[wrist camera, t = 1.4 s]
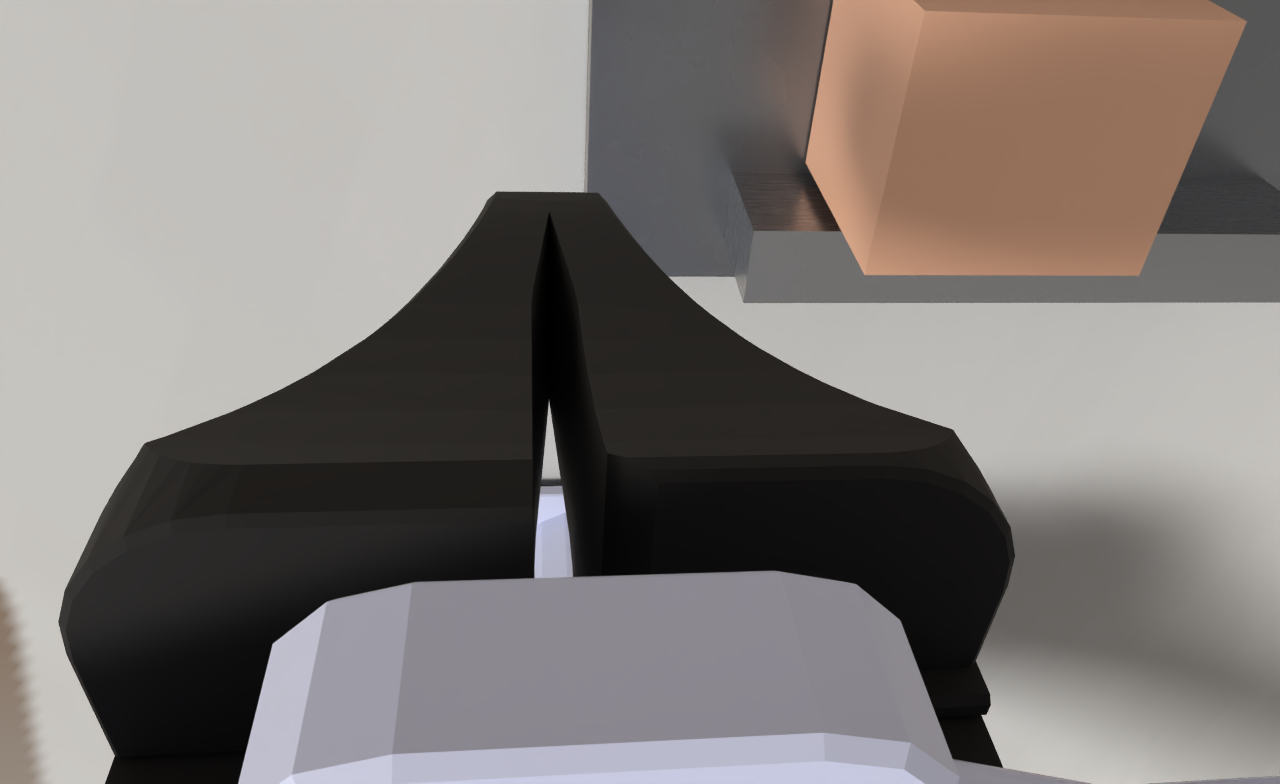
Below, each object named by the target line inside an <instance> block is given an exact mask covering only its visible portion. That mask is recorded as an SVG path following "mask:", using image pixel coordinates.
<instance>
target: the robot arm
mask: <svg viewBox="0 0 1280 784" xmlns="http://www.w3.org/2000/svg"><path fill="white" fill-rule="evenodd" d="M549 401H550V408H551V415H552V422H553V429H554V436H555V443H556V450H557V456H558V463H559V470H560V476H561V483H562V486H541V478H542V468H543V457H544V447H545V436H546V425H547V415H548V404H549ZM1014 558H1015V553H1014V547H1013V540H1012V534H1011V527H1010V526H1009V524H1008V522H1007V520H1006V518H1005V516H1004V514H1003V512H1002V511H1001V509H1000V507H999V505H998V503H997V501H996V499H995V497H994V495H993V493H992V491H991V489H990V488H989V486H988V484H987V482H986V480H985V479H984V477H983V475H982V473H981V471H980V470H979V468H978V466H977V465H976V463H975V462H974V460H973V459H972V457H971V456H970V455H969V453H968V452H967V450H966V449H965V447H964V446H963V444H962V443H961V441H960V440H959V438H958V437H957V435H956V433H955V432H954V430H952V429H949V428H946V427H943V426H940V425H937V424H934V423H931V422H928V421H925V420H922V419H919V418H916V417H912V416H909V415H906V414H903V413H900V412H897V411H894V410H891V409H888V408H885V407H882V406H879V405H876V404H873V403H871V402H868V401H865V400H863V399H861V398H858V397H856V396H854V395H851V394H849V393H847V392H844V391H842V390H840V389H837V388H835V387H833V386H830V385H828V384H826V383H823V382H821V381H819V380H817V379H815V378H813V377H811V376H809V375H807V374H805V373H803V372H801V371H799V370H797V369H795V368H793V367H792V366H790V365H788V364H786V363H785V362H783V361H781V360H779V359H777V358H776V357H774V356H772V355H770V354H769V353H767V352H765V351H763V350H762V349H760V348H758V347H757V346H755V345H754V344H752V343H750V342H749V341H747V340H746V339H744V338H743V337H741V336H740V335H738V334H737V333H736V332H734V331H733V330H731V329H730V328H729V327H727V326H726V325H725V324H723V323H722V322H720V321H719V320H718V319H716V318H715V317H714V316H712V315H711V314H710V313H708V312H707V311H706V310H705V309H703V308H702V307H701V306H700V305H698V304H697V303H696V302H695V301H694V300H692V299H691V298H690V297H689V296H688V295H687V294H686V293H685V292H684V291H683V290H682V289H681V288H679V287H678V286H677V285H676V284H675V283H674V282H673V281H672V280H671V279H670V278H669V277H668V276H667V275H666V274H665V273H664V272H663V271H662V270H661V268H660V267H659V266H658V265H657V264H656V263H655V262H654V261H653V260H652V259H651V257H650V256H649V255H648V254H647V253H646V252H645V251H644V250H643V248H642V247H641V246H640V245H639V244H638V242H637V241H636V240H635V239H634V238H633V236H632V235H631V234H630V233H629V231H628V230H627V229H626V228H625V226H624V225H623V224H622V222H621V221H620V220H619V218H618V217H617V216H616V214H615V213H614V211H613V210H612V209H611V207H610V206H609V204H608V203H607V202H606V200H605V199H604V198H603V197H602V196H601V195H600V194H599V193H580V192H496V193H495V194H494V195H493V196H491V197H490V198H489V199H488V200H487V202H486V204H485V206H484V208H483V210H482V212H481V213H480V215H479V217H478V218H477V220H476V221H475V223H474V224H473V226H472V227H471V229H470V230H469V232H468V233H467V235H466V236H465V237H464V239H463V240H462V241H461V243H460V244H459V245H458V247H457V248H456V249H455V250H454V252H453V253H452V254H451V256H450V257H449V258H448V259H447V261H446V262H445V263H444V264H443V266H442V267H441V268H440V269H439V270H438V272H437V273H436V274H435V275H434V276H433V277H432V278H431V279H430V280H429V281H428V282H427V283H426V284H425V286H424V287H423V288H422V289H421V290H420V291H419V292H418V293H417V294H416V295H415V296H414V297H413V298H412V299H411V300H410V301H409V302H408V303H407V304H406V305H405V306H404V307H403V308H402V309H401V310H400V311H399V312H398V313H397V314H396V315H395V316H393V317H392V318H391V319H390V320H389V321H388V322H387V323H385V324H384V325H383V326H382V327H380V328H379V329H378V330H377V331H375V332H374V333H373V334H371V335H370V336H369V337H367V338H366V339H365V340H363V341H362V342H360V343H358V344H357V345H355V346H354V347H352V348H351V349H349V350H348V351H346V352H344V353H343V354H341V355H340V356H338V357H337V358H335V359H333V360H332V361H330V362H329V363H327V364H326V365H324V366H323V367H321V368H319V369H318V370H316V371H315V372H313V373H311V374H309V375H308V376H306V377H304V378H302V379H300V380H298V381H296V382H294V383H292V384H290V385H289V386H287V387H285V388H283V389H281V390H279V391H277V392H275V393H272V394H270V395H268V396H266V397H264V398H262V399H260V400H258V401H255V402H253V403H251V404H249V405H247V406H244V407H242V408H240V409H237V410H235V411H233V412H230V413H228V414H225V415H222V416H220V417H217V418H214V419H212V420H209V421H206V422H203V423H201V424H198V425H195V426H193V427H190V428H187V429H184V430H182V431H179V432H176V433H174V434H171V435H168V436H166V437H163V438H159V439H156V440H153V441H150V442H147V443H145V444H144V445H143V447H142V448H141V450H140V452H139V453H138V455H137V457H136V458H135V460H134V461H133V463H132V464H131V466H130V467H129V469H128V470H127V472H126V473H125V475H124V476H123V478H122V479H121V481H120V482H119V484H118V485H117V487H116V489H115V490H114V492H113V494H112V496H111V497H110V499H109V501H108V503H107V505H106V506H105V508H104V510H103V512H102V514H101V516H100V518H99V520H98V522H97V524H96V526H95V528H94V530H93V532H92V534H91V537H90V539H89V541H88V543H87V545H86V547H85V549H84V551H83V553H82V555H81V557H80V560H79V562H78V564H77V566H76V568H75V570H74V572H73V574H72V576H71V578H70V581H69V583H68V585H67V587H66V589H65V592H64V597H63V602H62V607H61V612H60V617H59V626H60V630H61V634H62V638H63V642H64V646H65V650H66V654H67V656H68V658H69V660H70V663H71V665H72V667H73V669H74V671H75V673H76V675H77V677H78V679H79V681H80V684H81V686H82V688H83V690H84V692H85V694H86V696H87V698H88V700H89V702H90V705H91V707H92V709H93V711H94V713H95V715H96V717H97V719H98V721H99V723H100V725H101V728H102V730H103V732H104V734H105V736H106V738H107V740H108V742H109V744H110V746H111V749H112V751H113V753H114V755H115V758H114V760H113V763H112V766H111V769H110V771H109V774H108V777H107V780H106V782H105V784H1090V783H1085V782H1079V781H1074V780H1068V779H1062V778H1057V777H1051V776H1045V775H1040V774H1034V773H1028V772H1023V771H1017V770H1011V769H1006V768H1003V766H1002V764H1001V761H1000V759H999V756H998V754H997V752H996V749H995V747H994V744H993V742H992V740H991V737H990V735H989V733H988V730H987V728H986V725H985V723H984V721H983V718H982V716H981V715H986V714H987V712H988V710H989V708H990V706H991V704H990V693H989V691H988V688H987V686H986V684H985V681H984V679H983V677H982V675H981V672H980V670H979V668H978V665H977V663H976V659H977V656H978V654H979V652H980V649H981V647H982V645H983V642H984V640H985V638H986V635H987V633H988V631H989V628H990V626H991V624H992V621H993V619H994V617H995V614H996V612H997V609H998V607H999V605H1000V602H1001V600H1002V598H1003V595H1004V593H1005V591H1006V588H1007V586H1008V583H1009V578H1010V574H1011V570H1012V566H1013V562H1014ZM1150 784H1280V776H1271V777H1254V778H1237V779H1219V780H1202V781H1185V782H1167V783H1150Z"/></svg>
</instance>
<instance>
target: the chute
mask: <svg viewBox="0 0 1280 784" xmlns="http://www.w3.org/2000/svg"><path fill="white" fill-rule="evenodd" d="M1209 1H1211V2H1213V3H1214V4H1216V5H1218V6H1220V7H1222V8H1224V9H1225V10H1227V11H1229V12H1231V13H1233V14H1235V15H1236V16H1238V17H1240V18H1242V19H1244V20H1246V21H1247V23H1246V25H1245V28H1244V30H1243V32H1242V35H1241V37H1240V39H1239V42H1238V44H1237V46H1236V49H1235V51H1234V53H1233V56H1232V58H1231V61H1230V63H1229V65H1228V68H1227V70H1226V72H1225V75H1224V77H1223V79H1222V82H1221V84H1220V86H1219V89H1218V91H1217V93H1216V96H1215V98H1214V100H1213V103H1212V105H1211V108H1210V110H1209V112H1208V115H1207V117H1206V119H1205V122H1204V124H1203V126H1202V129H1201V131H1200V133H1199V136H1198V138H1197V140H1196V143H1195V145H1194V147H1193V150H1192V152H1191V155H1190V157H1189V159H1188V162H1187V164H1186V166H1185V169H1184V171H1183V173H1182V176H1181V178H1180V180H1179V183H1178V185H1177V187H1176V190H1175V192H1174V194H1173V197H1172V199H1171V202H1170V204H1169V206H1168V209H1167V211H1166V213H1165V216H1164V218H1163V220H1162V223H1161V225H1160V227H1159V230H1158V232H1157V234H1156V237H1155V239H1154V242H1153V244H1152V246H1151V249H1150V251H1149V253H1148V256H1147V258H1146V260H1145V263H1144V265H1143V267H1142V270H1141V272H1140V274H1139V276H1051V275H864V273H863V271H862V269H861V267H860V265H859V264H858V262H857V260H856V258H855V256H854V254H853V252H852V250H851V248H850V246H849V244H848V243H847V241H846V239H845V237H844V235H843V233H842V231H841V229H840V227H839V225H838V223H837V222H836V220H835V218H834V216H833V214H832V212H831V210H830V208H829V206H828V204H827V203H826V201H825V199H824V197H823V195H822V193H821V191H820V189H819V187H818V185H817V183H816V182H815V180H814V178H813V176H812V174H811V172H810V170H809V168H808V166H807V164H806V157H807V151H808V145H809V139H810V134H811V128H812V122H813V116H814V110H815V104H816V99H817V93H818V87H819V81H820V75H821V70H822V64H823V58H824V52H825V46H826V40H827V35H828V29H829V23H830V17H831V11H832V6H833V0H589V26H588V66H587V105H586V145H585V184H584V193H599V194H600V195H601V196H602V197H603V198H604V199H605V200H606V202H607V203H608V204H609V206H610V207H611V209H612V210H613V211H614V213H615V214H616V216H617V217H618V218H619V220H620V221H621V222H622V224H623V225H624V226H625V228H626V229H627V230H628V231H629V233H630V234H631V235H632V236H633V238H634V239H635V240H636V241H637V242H638V244H639V245H640V246H641V247H642V248H643V250H644V251H645V252H646V253H647V254H648V255H649V256H650V257H651V259H652V260H653V261H654V262H655V263H656V264H657V265H658V266H659V267H660V268H661V270H662V271H663V272H664V273H665V274H666V275H667V276H717V277H735V278H736V281H737V284H738V288H739V291H740V294H741V297H742V300H743V303H1118V302H1280V0H1209Z"/></svg>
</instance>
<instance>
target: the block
mask: <svg viewBox="0 0 1280 784" xmlns="http://www.w3.org/2000/svg"><path fill="white" fill-rule="evenodd" d="M1246 23H1247V21H1246V20H1244V19H1242V18H1240V17H1238V16H1236V15H1235V14H1233V13H1231V12H1229V11H1227V10H1225V9H1224V8H1222V7H1220V6H1218V5H1216V4H1214V3H1213V2H1211V1H1209V0H833V6H832V11H831V17H830V23H829V29H828V35H827V40H826V46H825V52H824V58H823V64H822V70H821V75H820V81H819V87H818V93H817V99H816V104H815V110H814V116H813V122H812V128H811V134H810V139H809V145H808V151H807V157H806V164H807V166H808V168H809V170H810V172H811V174H812V176H813V178H814V180H815V182H816V183H817V185H818V187H819V189H820V191H821V193H822V195H823V197H824V199H825V201H826V203H827V204H828V206H829V208H830V210H831V212H832V214H833V216H834V218H835V220H836V222H837V223H838V225H839V227H840V229H841V231H842V233H843V235H844V237H845V239H846V241H847V243H848V244H849V246H850V248H851V250H852V252H853V254H854V256H855V258H856V260H857V262H858V264H859V265H860V267H861V269H862V271H863V273H864V275H1051V276H1139V274H1140V272H1141V270H1142V267H1143V265H1144V263H1145V260H1146V258H1147V256H1148V253H1149V251H1150V249H1151V246H1152V244H1153V242H1154V239H1155V237H1156V234H1157V232H1158V230H1159V227H1160V225H1161V223H1162V220H1163V218H1164V216H1165V213H1166V211H1167V209H1168V206H1169V204H1170V202H1171V199H1172V197H1173V194H1174V192H1175V190H1176V187H1177V185H1178V183H1179V180H1180V178H1181V176H1182V173H1183V171H1184V169H1185V166H1186V164H1187V162H1188V159H1189V157H1190V155H1191V152H1192V150H1193V147H1194V145H1195V143H1196V140H1197V138H1198V136H1199V133H1200V131H1201V129H1202V126H1203V124H1204V122H1205V119H1206V117H1207V115H1208V112H1209V110H1210V108H1211V105H1212V103H1213V100H1214V98H1215V96H1216V93H1217V91H1218V89H1219V86H1220V84H1221V82H1222V79H1223V77H1224V75H1225V72H1226V70H1227V68H1228V65H1229V63H1230V61H1231V58H1232V56H1233V53H1234V51H1235V49H1236V46H1237V44H1238V42H1239V39H1240V37H1241V35H1242V32H1243V30H1244V28H1245V25H1246Z"/></svg>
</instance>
